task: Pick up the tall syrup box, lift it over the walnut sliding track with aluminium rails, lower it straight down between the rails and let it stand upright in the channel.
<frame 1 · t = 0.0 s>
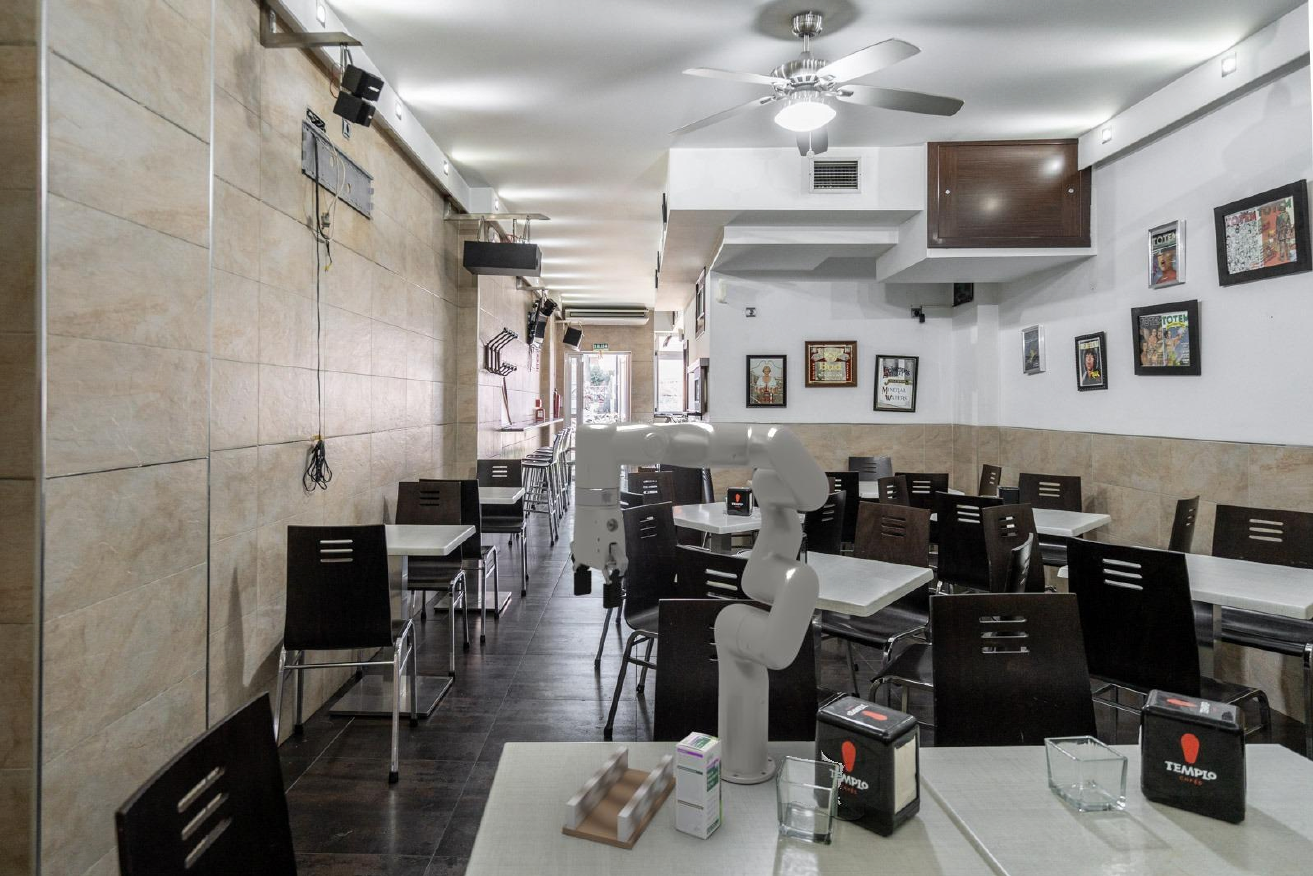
hand: (597, 600, 119), 37 cm above the table, tool pointing down, fingers open, 9 cm apart
track: (623, 806, 125), on the table
syrup box: (698, 828, 119), on the table
white cup: (844, 812, 124), on the table
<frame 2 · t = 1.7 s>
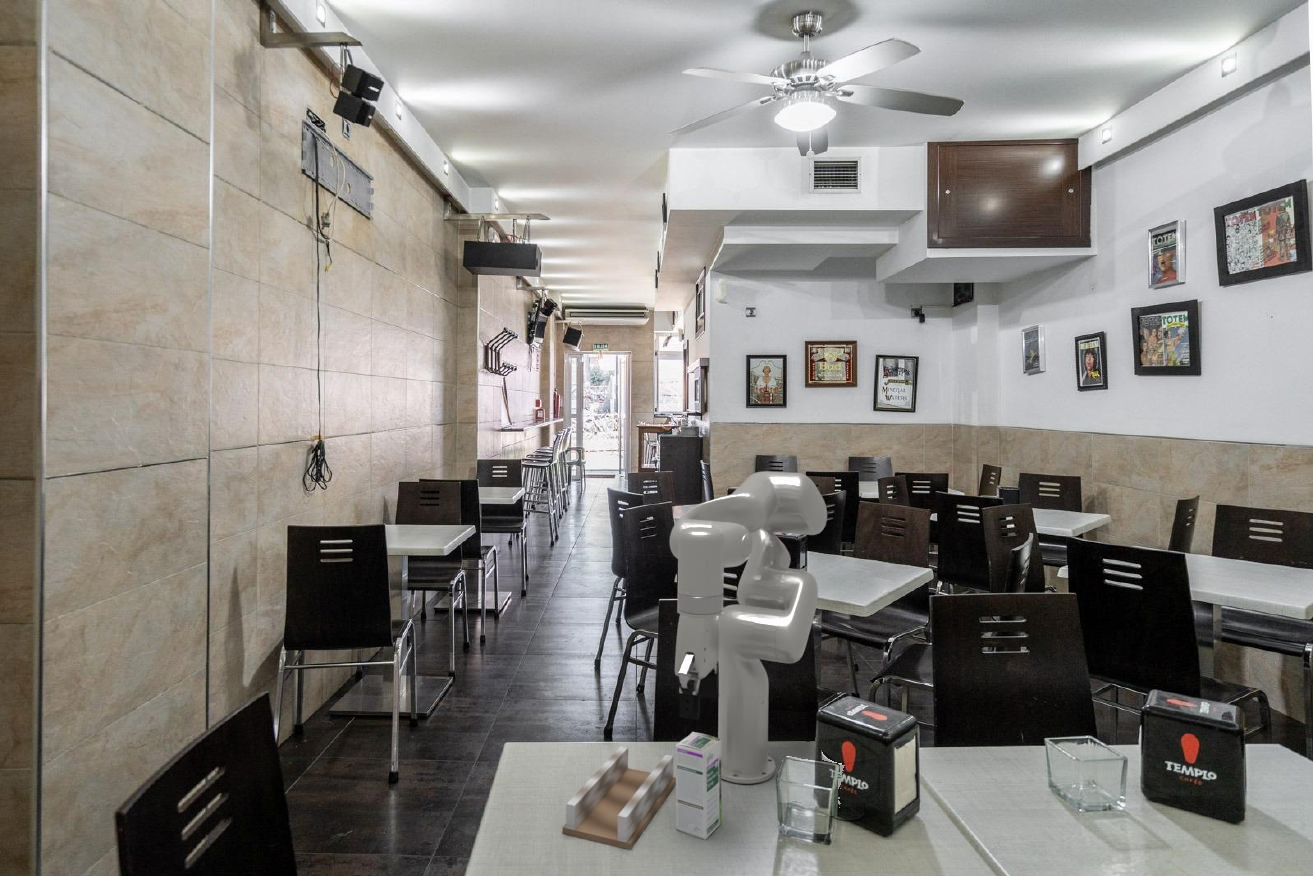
hand: (698, 706, 118), 20 cm above the table, tool pointing down, fingers open, 9 cm apart
nothing on the table moved.
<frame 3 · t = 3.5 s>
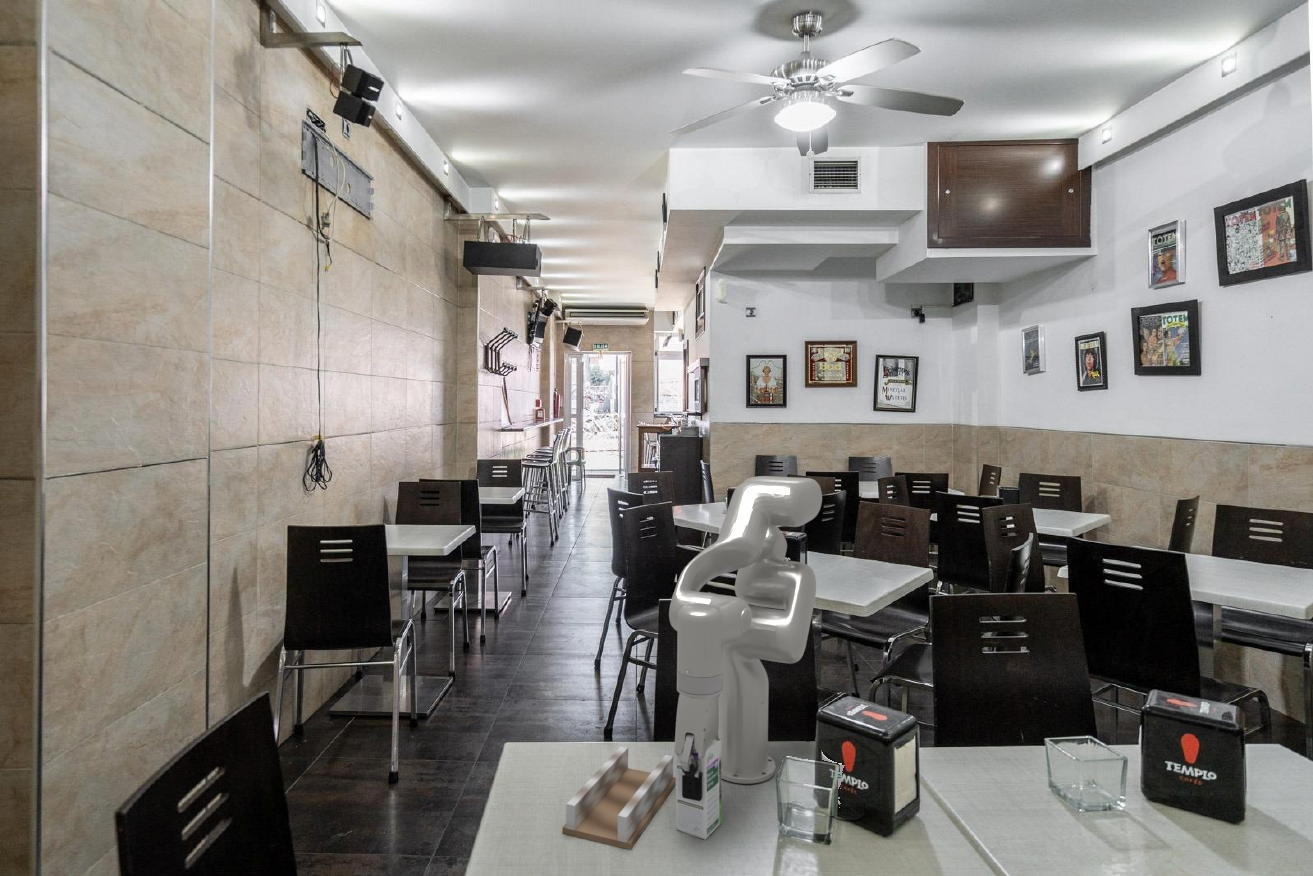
hand: (698, 787, 119), 7 cm above the table, tool pointing down, fingers closed on syrup box, 6 cm apart
syrup box: (698, 828, 119), on the table, touching gripper
everything else where it was.
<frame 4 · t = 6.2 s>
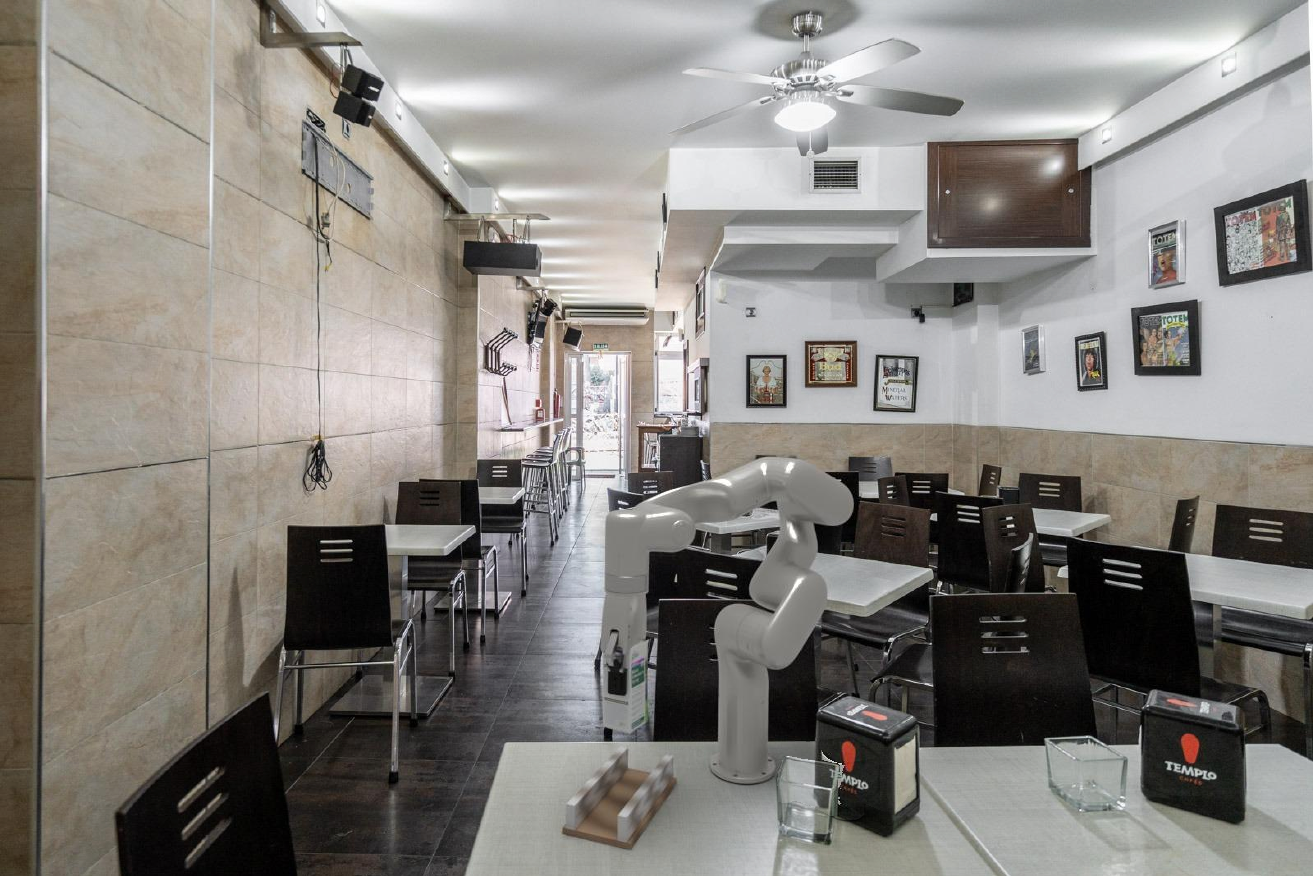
hand: (625, 686, 123), 22 cm above the table, tool pointing down, fingers closed on syrup box, 6 cm apart
syrup box: (624, 725, 123), point 15 cm above the table, touching gripper
everything else where it was.
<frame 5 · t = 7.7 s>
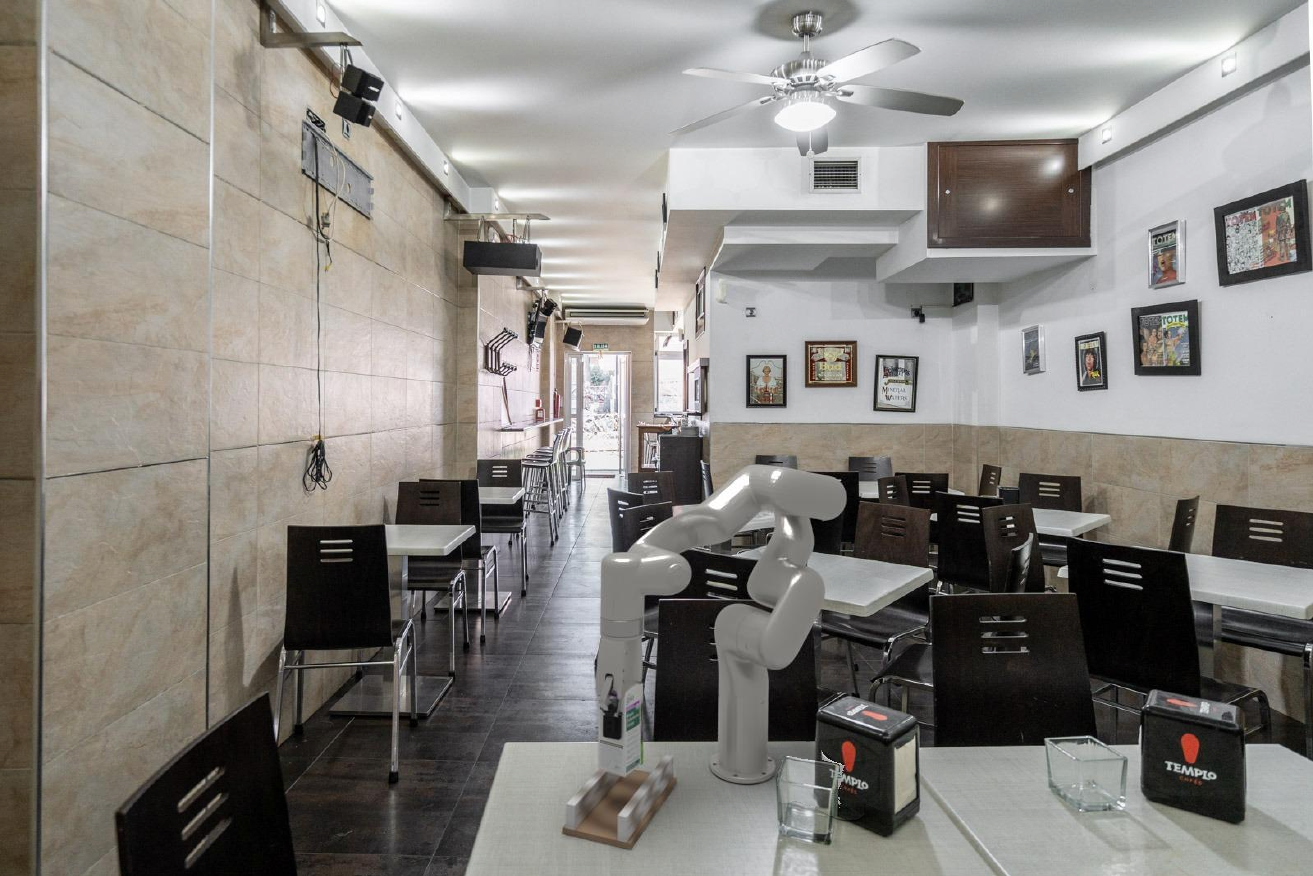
hand: (620, 728, 123), 14 cm above the table, tool pointing down, fingers closed on syrup box, 6 cm apart
syrup box: (620, 768, 124), point 7 cm above the table, touching gripper
everything else where it was.
when the fingers open (9 cm above the table, at t = 9.1 s): syrup box drops 1 cm, resting on track.
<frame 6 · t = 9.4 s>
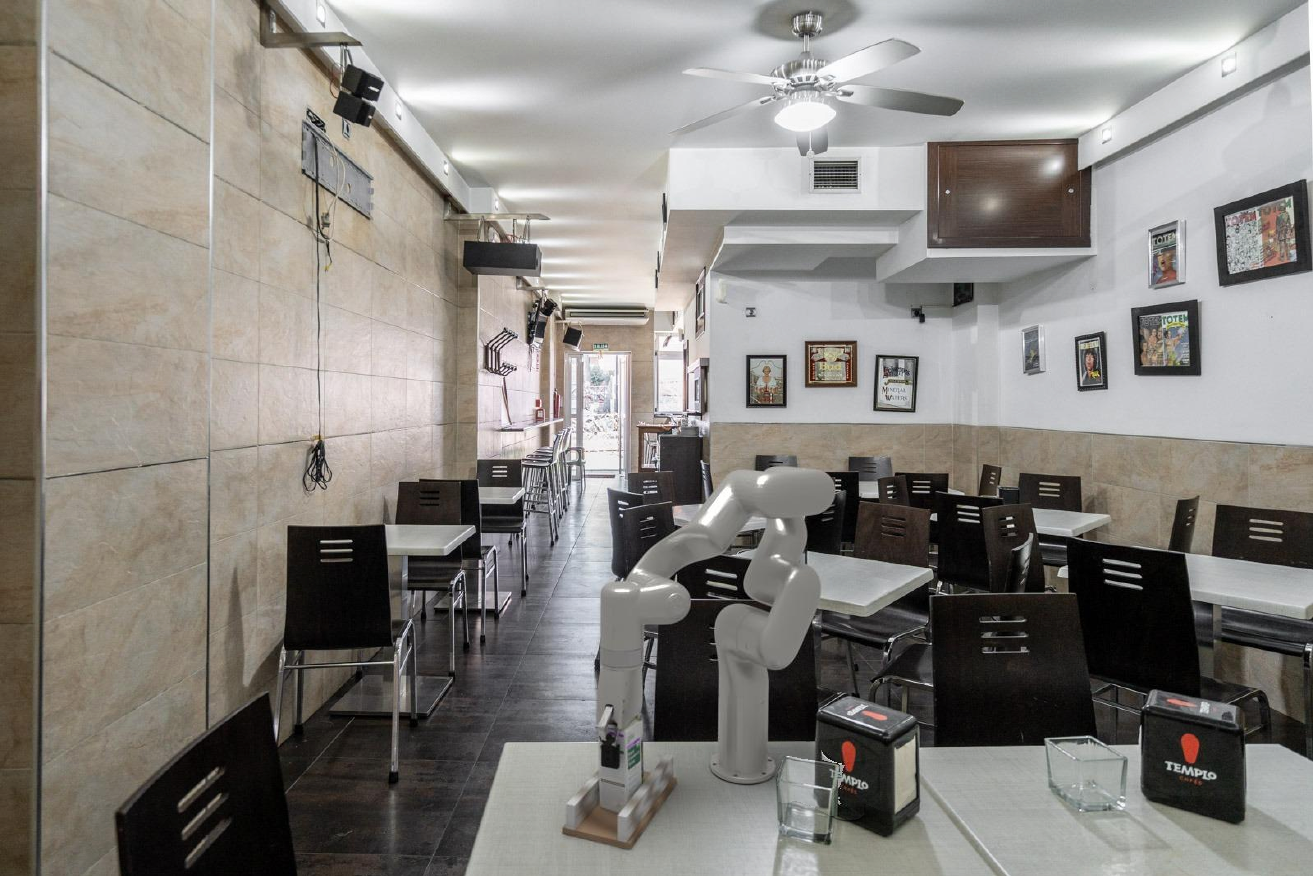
hand: (621, 755, 124), 10 cm above the table, tool pointing down, fingers open, 8 cm apart
syrup box: (621, 805, 124), point 1 cm above the table, touching track
everything else where it was.
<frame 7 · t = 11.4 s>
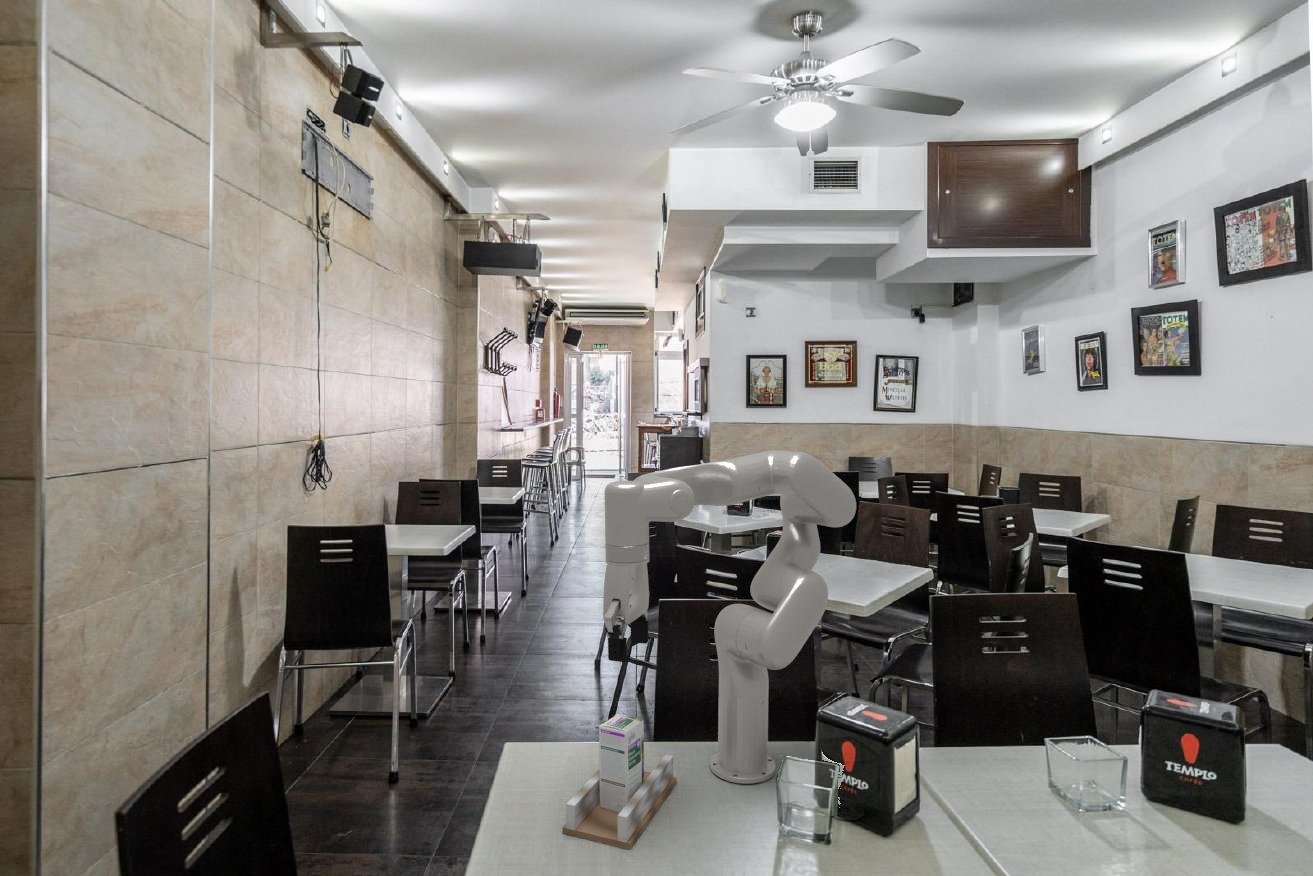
hand: (629, 651, 124), 27 cm above the table, tool pointing down, fingers open, 9 cm apart
nothing on the table moved.
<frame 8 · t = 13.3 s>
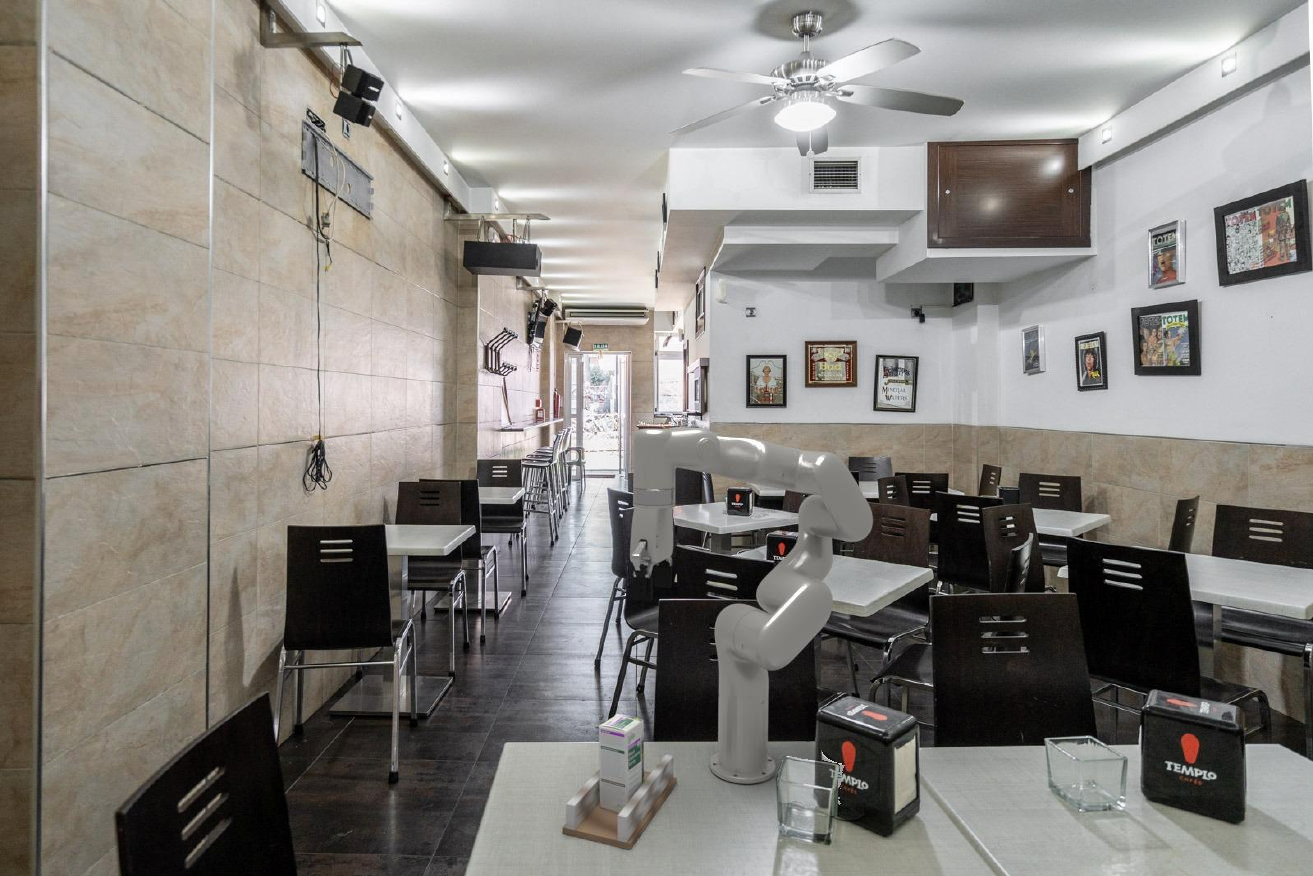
hand: (653, 593, 128), 36 cm above the table, tool pointing down, fingers open, 9 cm apart
nothing on the table moved.
at the end: syrup box inside the target area on the track (1.1 cm from its centre), point 0.8 cm above the track's base; syrup box tilted 0°; the gripper is holding nothing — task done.
